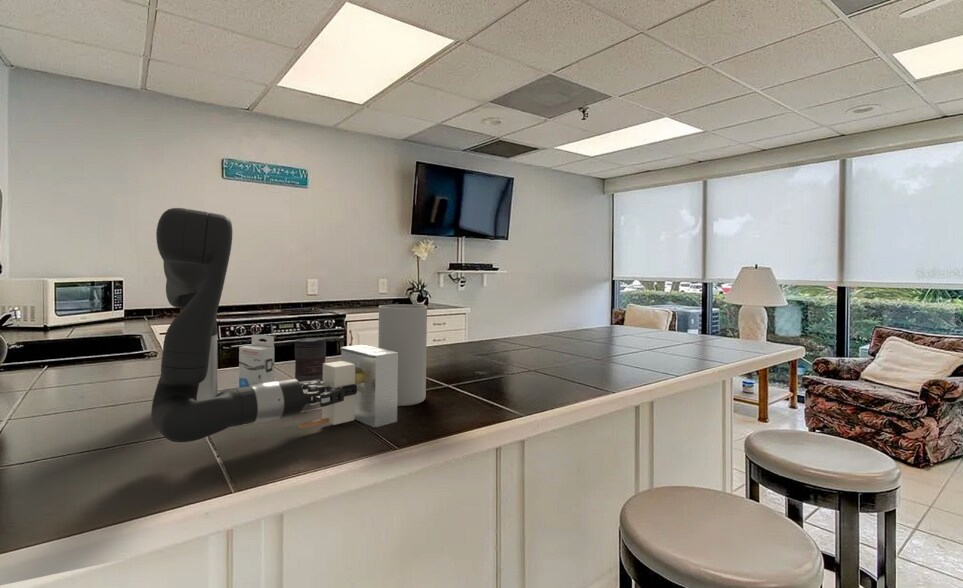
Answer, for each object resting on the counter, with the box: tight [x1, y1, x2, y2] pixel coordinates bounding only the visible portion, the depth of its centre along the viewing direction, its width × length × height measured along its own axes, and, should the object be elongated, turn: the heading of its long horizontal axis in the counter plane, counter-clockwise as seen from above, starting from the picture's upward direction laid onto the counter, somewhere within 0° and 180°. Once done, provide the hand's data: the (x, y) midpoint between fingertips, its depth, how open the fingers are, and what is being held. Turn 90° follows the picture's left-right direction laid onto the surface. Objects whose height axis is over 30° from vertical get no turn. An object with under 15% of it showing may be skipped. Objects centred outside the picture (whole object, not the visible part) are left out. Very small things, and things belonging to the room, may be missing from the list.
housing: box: [339, 344, 398, 428], centre depth 111 cm, size 7×14×16 cm, turn 47°
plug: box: [299, 360, 365, 429], centre depth 107 cm, size 22×5×12 cm, turn 137°
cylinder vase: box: [377, 303, 428, 407], centre depth 126 cm, size 12×12×25 cm
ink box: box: [238, 334, 275, 388], centre depth 136 cm, size 9×5×15 cm, turn 71°
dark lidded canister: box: [294, 337, 327, 382], centre depth 131 cm, size 8×8×15 cm
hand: (349, 386), depth 108 cm, fingers closed on plug, 5 cm apart
